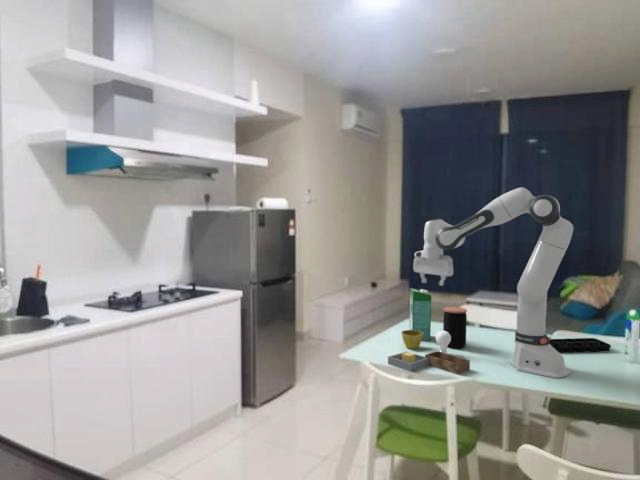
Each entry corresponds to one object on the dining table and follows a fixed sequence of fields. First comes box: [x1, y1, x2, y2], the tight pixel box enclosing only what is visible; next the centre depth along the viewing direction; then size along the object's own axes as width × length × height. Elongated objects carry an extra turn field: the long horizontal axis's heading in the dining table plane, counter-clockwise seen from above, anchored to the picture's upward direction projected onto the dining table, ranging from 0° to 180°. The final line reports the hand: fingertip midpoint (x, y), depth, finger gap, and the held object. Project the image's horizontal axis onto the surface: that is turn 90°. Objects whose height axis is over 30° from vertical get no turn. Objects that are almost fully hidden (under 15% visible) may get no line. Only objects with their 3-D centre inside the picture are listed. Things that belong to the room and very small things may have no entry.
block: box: [402, 351, 417, 363], centre depth 199 cm, size 4×4×4 cm
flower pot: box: [401, 329, 423, 350], centre depth 225 cm, size 10×10×7 cm
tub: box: [387, 351, 429, 372], centre depth 199 cm, size 12×12×4 cm
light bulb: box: [435, 330, 451, 354], centre depth 214 cm, size 7×7×11 cm
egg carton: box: [549, 337, 612, 354], centre depth 226 cm, size 18×30×4 cm, turn 108°
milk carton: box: [408, 287, 432, 341], centre depth 242 cm, size 9×9×25 cm
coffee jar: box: [442, 306, 468, 350], centre depth 228 cm, size 11×11×18 cm
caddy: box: [424, 350, 471, 375], centre depth 196 cm, size 16×8×4 cm, turn 40°
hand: (432, 284), depth 220 cm, fingers open, 8 cm apart
